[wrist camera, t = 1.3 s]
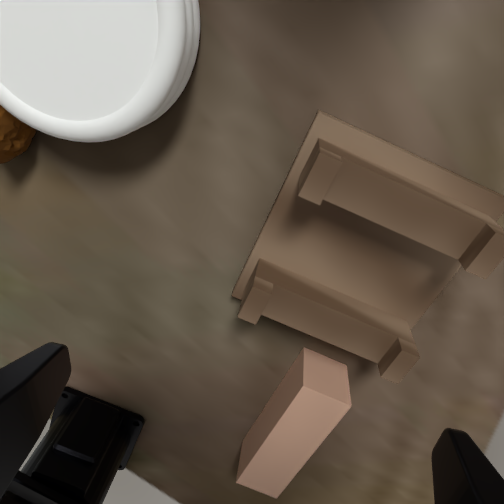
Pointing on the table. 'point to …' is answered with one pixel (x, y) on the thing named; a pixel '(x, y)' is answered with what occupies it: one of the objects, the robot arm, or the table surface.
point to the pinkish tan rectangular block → (294, 422)
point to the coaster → (95, 63)
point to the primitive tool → (13, 136)
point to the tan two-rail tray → (366, 244)
